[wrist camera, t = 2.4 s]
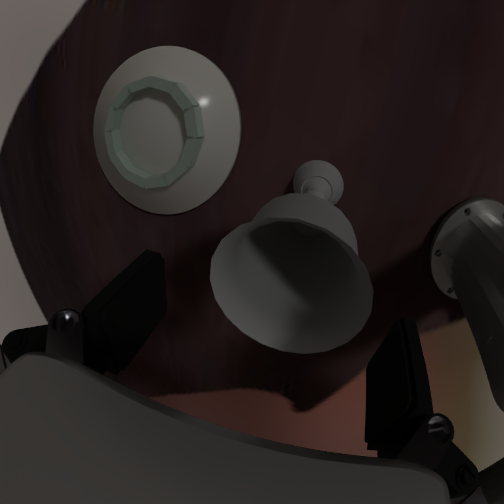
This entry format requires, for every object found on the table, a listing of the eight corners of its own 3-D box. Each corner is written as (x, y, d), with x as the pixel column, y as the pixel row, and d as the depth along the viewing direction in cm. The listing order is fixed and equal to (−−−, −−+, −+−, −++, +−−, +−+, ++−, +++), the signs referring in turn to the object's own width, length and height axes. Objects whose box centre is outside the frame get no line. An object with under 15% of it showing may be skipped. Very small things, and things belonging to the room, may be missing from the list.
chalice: (368, 187, 25) (405, 304, 10) (321, 231, 29) (295, 370, 14) (313, 135, 25) (275, 177, 9) (268, 184, 28) (183, 284, 13)
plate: (281, 148, 26) (276, 151, 24) (156, 239, 36) (146, 247, 34) (171, 15, 21) (160, 10, 19) (78, 127, 31) (66, 130, 29)
